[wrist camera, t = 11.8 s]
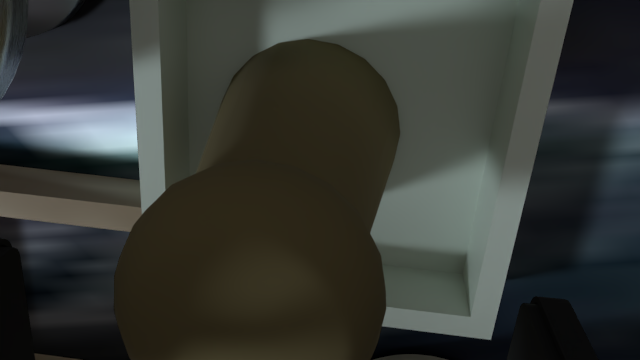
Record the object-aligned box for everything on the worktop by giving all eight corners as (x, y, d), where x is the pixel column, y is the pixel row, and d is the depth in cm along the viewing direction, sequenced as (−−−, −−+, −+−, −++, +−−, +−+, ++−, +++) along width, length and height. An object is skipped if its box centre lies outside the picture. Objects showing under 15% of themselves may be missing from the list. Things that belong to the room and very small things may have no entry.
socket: (198, 392, 27) (183, 428, 25) (-22, 362, 27) (-52, 396, 25) (194, 186, 22) (177, 211, 20) (-66, 156, 23) (-105, 179, 21)
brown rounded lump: (183, 106, 20) (-13, 304, 10) (329, -1, 18) (260, 118, 9) (291, 239, 22) (211, 517, 12) (435, 153, 20) (480, 401, 10)
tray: (478, 285, 23) (490, 340, 20) (175, 249, 24) (146, 296, 21) (551, -43, 18) (581, -31, 15) (164, -76, 19) (125, -71, 16)
